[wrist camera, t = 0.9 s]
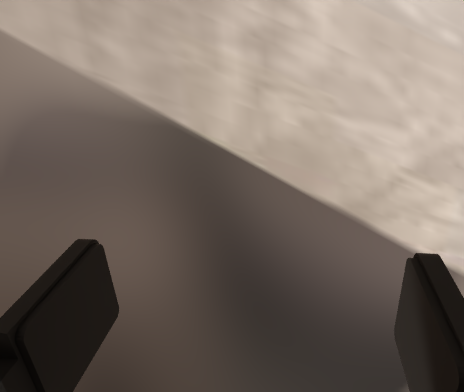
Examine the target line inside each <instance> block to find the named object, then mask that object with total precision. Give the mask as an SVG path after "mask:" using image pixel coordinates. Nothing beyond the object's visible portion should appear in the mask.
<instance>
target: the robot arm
mask: <svg viewBox="0 0 464 392" xmlns="http://www.w3.org/2000/svg"><path fill="white" fill-rule="evenodd" d="M118 313H119V305H118V302H117V298H116V294H115V290H114V287H113V282H112V279H111V275H110V271H109V267H108V263H107V260H106V255H105V252H104V248H103V246H102V245H101V244H99V243H98V241H97V240H91V239H78V240H76V241H75V242H74V243H73V244H72V245H71V246H70V247H69V248H68V249H67V250H66V251H65V252H64V253H63V254H62V255H61V256H60V257H59V258H58V259H57V260H56V262H54V264H52V265H51V266H50V268H49V269H48V270H47V271H46V272H45V273H44V274H43V275H42V276H41V277H40V278H39V279H38V280H37V281H36V282H35V283H34V284H33V285H32V286H31V287H30V288H29V289H28V290H27V291H26V292H25V293H24V294H23V295H22V296H21V297H20V298H19V299H18V300H17V301H16V302H15V303H14V304H13V305H12V307H10V308H9V310H7V311H6V313H5V314H4V315H3V316H2V317H1V318H0V392H73V391H74V389H75V387H76V385H77V384H78V382H79V381H80V379H81V377H82V376H83V374H84V372H85V370H86V369H87V367H88V365H89V364H90V362H91V360H92V359H93V357H94V355H95V354H96V352H97V350H98V349H99V347H100V345H101V344H102V342H103V340H104V339H105V337H106V335H107V334H108V332H109V330H110V329H111V327H112V325H113V324H114V322H115V320H116V319H117V317H118ZM394 335H395V341H396V345H397V348H398V351H399V355H400V359H401V362H402V366H403V369H404V373H405V376H406V380H407V383H408V387H409V390H410V392H464V298H463V296H462V295H461V292H460V291H459V289H458V287H457V285H456V284H455V282H454V280H453V278H452V277H451V275H450V273H449V271H448V269H447V268H446V266H445V264H444V262H443V261H442V259H441V257H440V256H439V255H438V254H425V253H416V254H415V255H414V257H413V258H408V259H407V261H406V267H405V273H404V278H403V283H402V289H401V294H400V300H399V306H398V311H397V317H396V322H395V328H394Z"/></svg>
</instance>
